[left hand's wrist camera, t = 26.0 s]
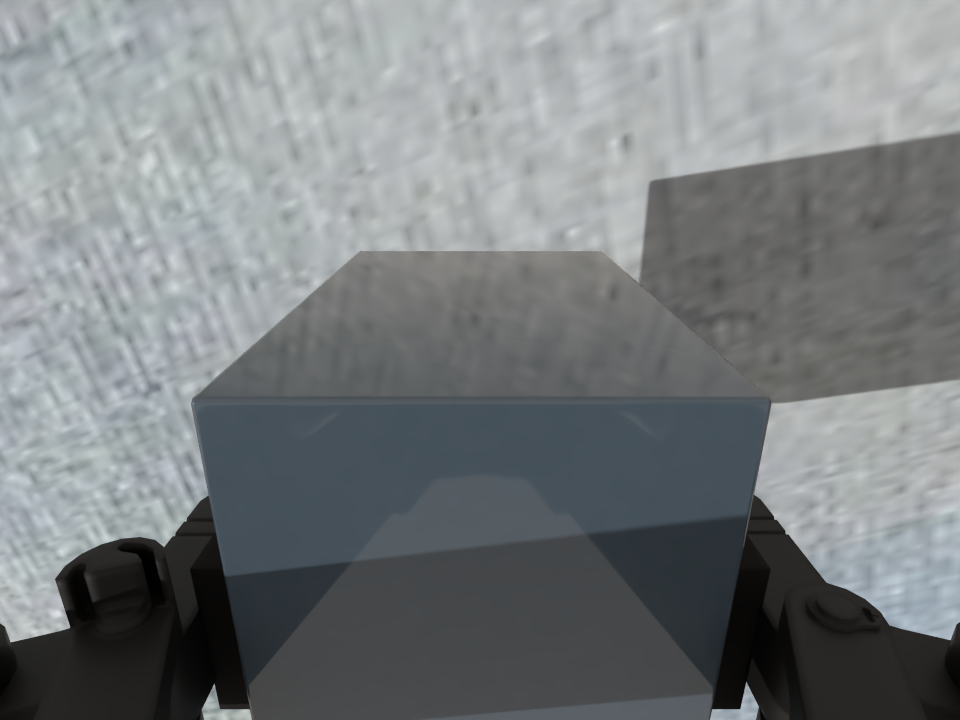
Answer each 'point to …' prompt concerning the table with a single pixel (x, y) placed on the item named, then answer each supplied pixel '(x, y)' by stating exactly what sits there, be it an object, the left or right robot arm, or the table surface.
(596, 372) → the grey rectangular block
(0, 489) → the table surface
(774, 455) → the table surface
